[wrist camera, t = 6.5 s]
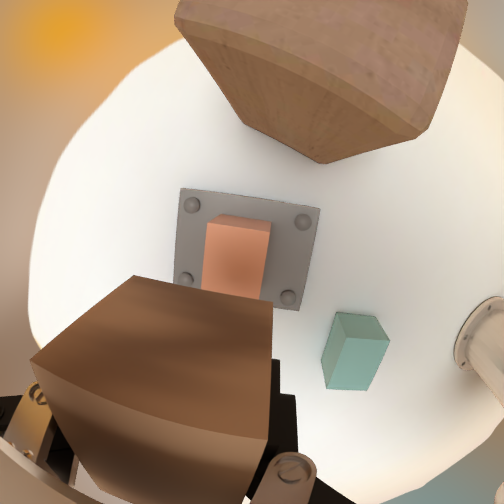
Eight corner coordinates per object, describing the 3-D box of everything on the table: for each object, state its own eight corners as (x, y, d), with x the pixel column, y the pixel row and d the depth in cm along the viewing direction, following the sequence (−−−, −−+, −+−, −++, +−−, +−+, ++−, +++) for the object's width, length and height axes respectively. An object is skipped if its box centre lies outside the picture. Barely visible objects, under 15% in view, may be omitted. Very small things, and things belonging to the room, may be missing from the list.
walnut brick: (273, 301, 9) (267, 439, 4) (244, 428, 11) (229, 528, 6) (133, 275, 9) (29, 360, 4) (144, 405, 11) (100, 489, 6)
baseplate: (318, 208, 27) (331, 217, 21) (298, 307, 30) (302, 338, 24) (183, 188, 27) (158, 191, 21) (176, 285, 30) (153, 310, 24)
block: (282, 48, 23) (281, -96, 3) (366, 92, 23) (477, -4, 4) (237, 121, 25) (153, 17, 6) (325, 168, 26) (432, 148, 6)
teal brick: (374, 316, 29) (390, 340, 24) (356, 362, 31) (366, 390, 26) (336, 311, 30) (346, 337, 24) (320, 359, 32) (326, 388, 26)
